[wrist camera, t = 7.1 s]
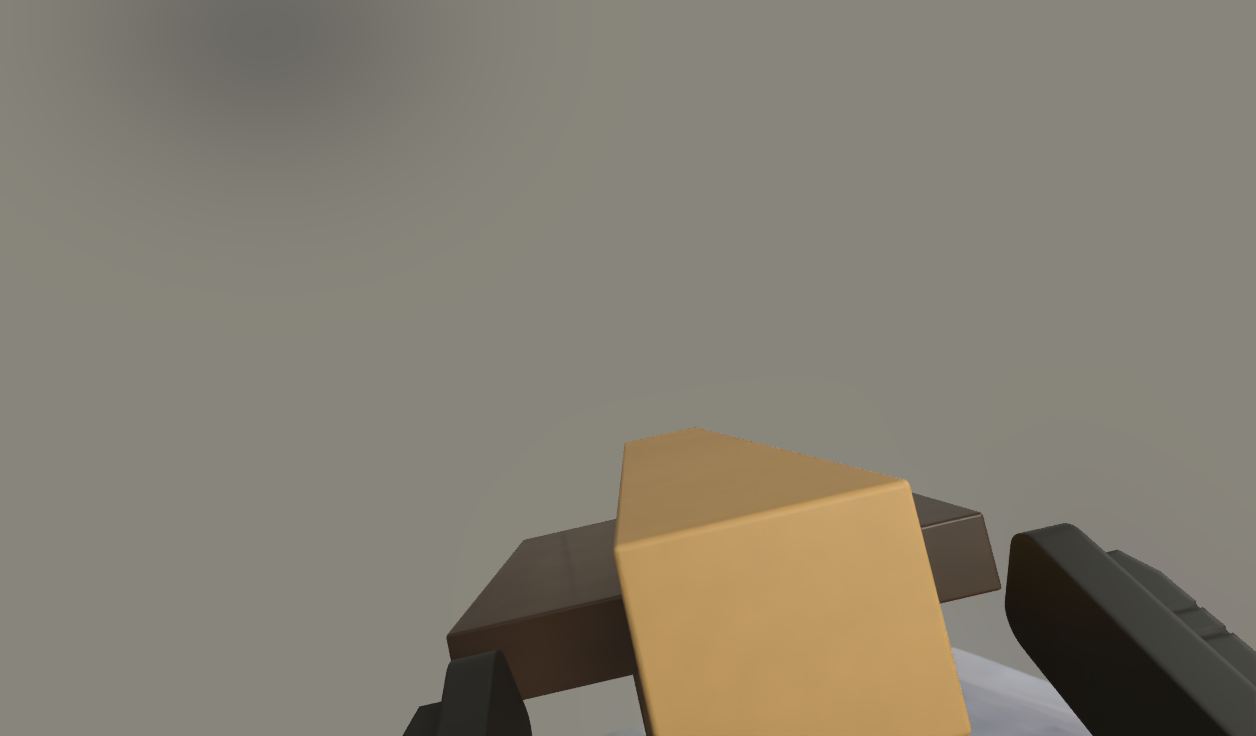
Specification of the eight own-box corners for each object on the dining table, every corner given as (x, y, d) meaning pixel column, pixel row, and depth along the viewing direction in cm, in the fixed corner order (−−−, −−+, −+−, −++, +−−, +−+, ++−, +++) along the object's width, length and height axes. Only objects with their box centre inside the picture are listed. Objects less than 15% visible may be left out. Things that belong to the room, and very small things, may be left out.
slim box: (667, 810, 7) (610, 546, 7) (637, 503, 31) (624, 442, 31) (977, 738, 7) (911, 478, 8) (710, 487, 31) (695, 426, 31)
